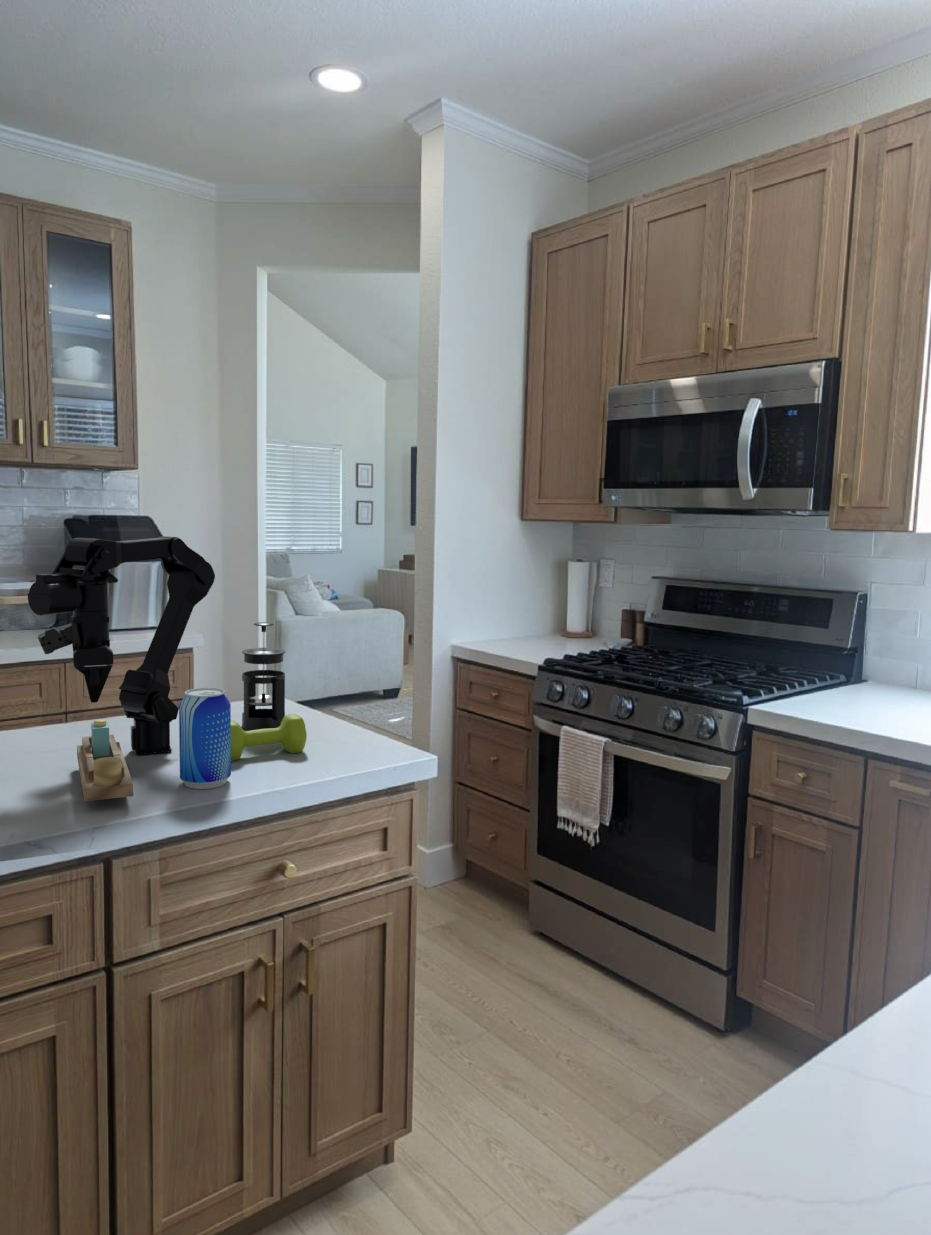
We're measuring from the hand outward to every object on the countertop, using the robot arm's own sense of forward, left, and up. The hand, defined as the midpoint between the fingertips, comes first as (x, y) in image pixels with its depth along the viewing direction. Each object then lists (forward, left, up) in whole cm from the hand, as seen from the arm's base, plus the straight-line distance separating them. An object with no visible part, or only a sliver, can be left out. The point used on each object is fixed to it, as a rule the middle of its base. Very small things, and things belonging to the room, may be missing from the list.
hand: (93, 696), depth 155 cm
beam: (-1, +12, -13) cm, 18 cm away
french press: (-35, -17, -13) cm, 41 cm away
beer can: (-17, +16, -13) cm, 27 cm away
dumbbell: (-30, +2, -13) cm, 33 cm away
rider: (-1, +6, -9) cm, 11 cm away
